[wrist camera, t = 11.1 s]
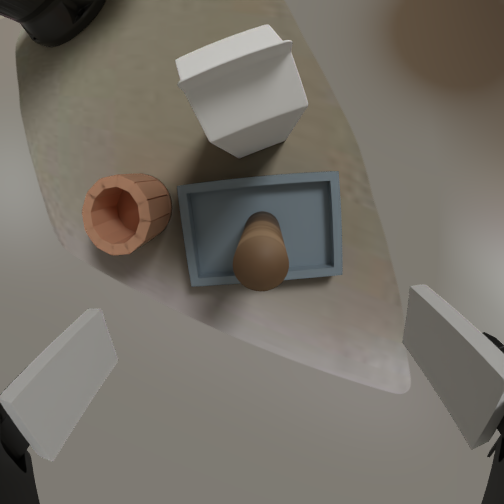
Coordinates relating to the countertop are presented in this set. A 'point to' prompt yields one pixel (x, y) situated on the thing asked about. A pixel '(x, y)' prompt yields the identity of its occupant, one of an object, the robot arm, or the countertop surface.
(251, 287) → the baguette
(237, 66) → the milk
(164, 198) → the cup
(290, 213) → the tray
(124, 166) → the countertop surface
